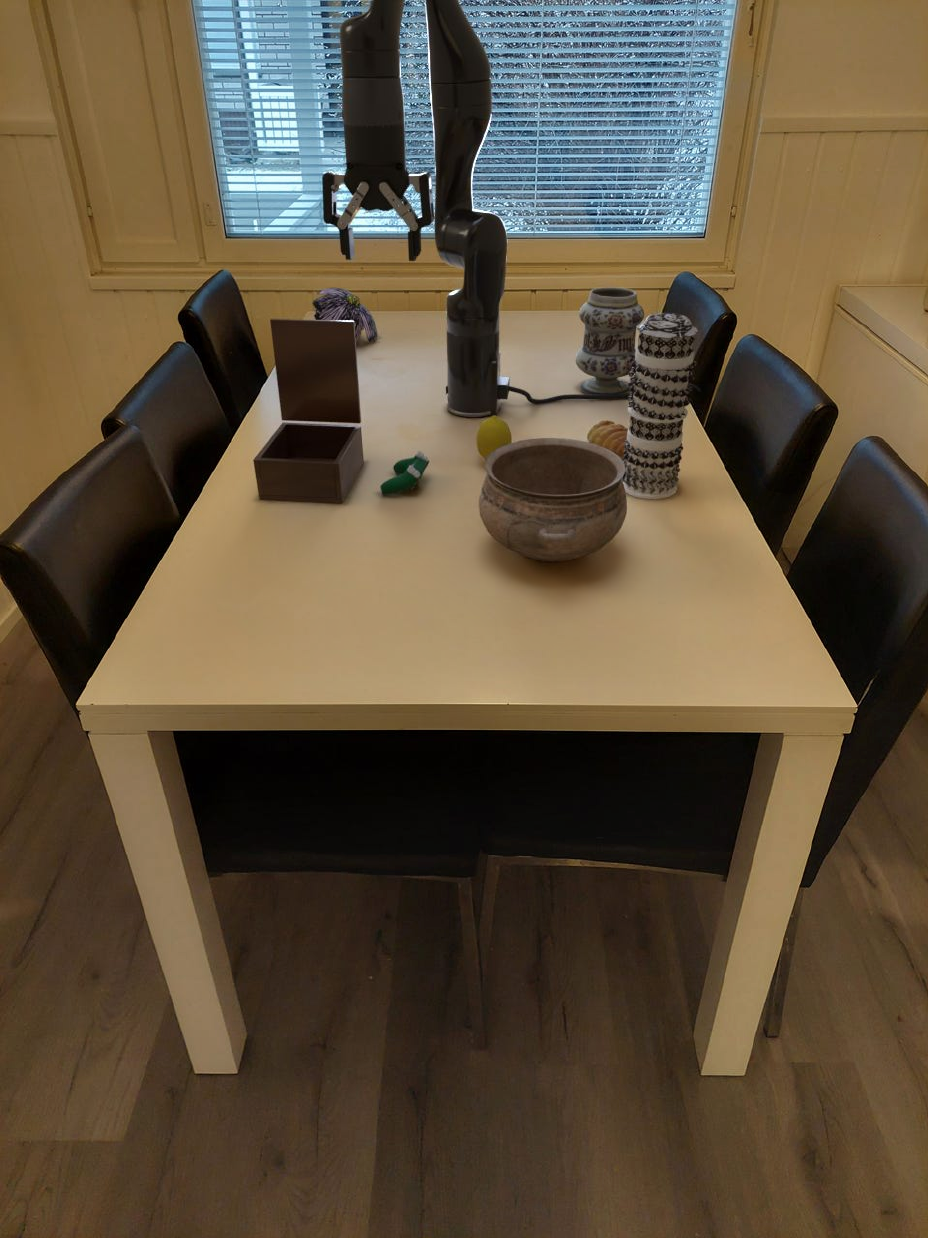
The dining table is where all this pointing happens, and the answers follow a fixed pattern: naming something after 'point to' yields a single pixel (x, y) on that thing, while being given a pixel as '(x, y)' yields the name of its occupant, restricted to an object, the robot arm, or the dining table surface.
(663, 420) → the decorative candle
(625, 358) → the apothecary jar
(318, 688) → the dining table surface
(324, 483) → the case
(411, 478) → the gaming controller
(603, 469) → the cooking pot
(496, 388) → the robot arm
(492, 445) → the lemon
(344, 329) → the case cover
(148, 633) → the dining table surface
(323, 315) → the decorative flower
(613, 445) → the pastry
